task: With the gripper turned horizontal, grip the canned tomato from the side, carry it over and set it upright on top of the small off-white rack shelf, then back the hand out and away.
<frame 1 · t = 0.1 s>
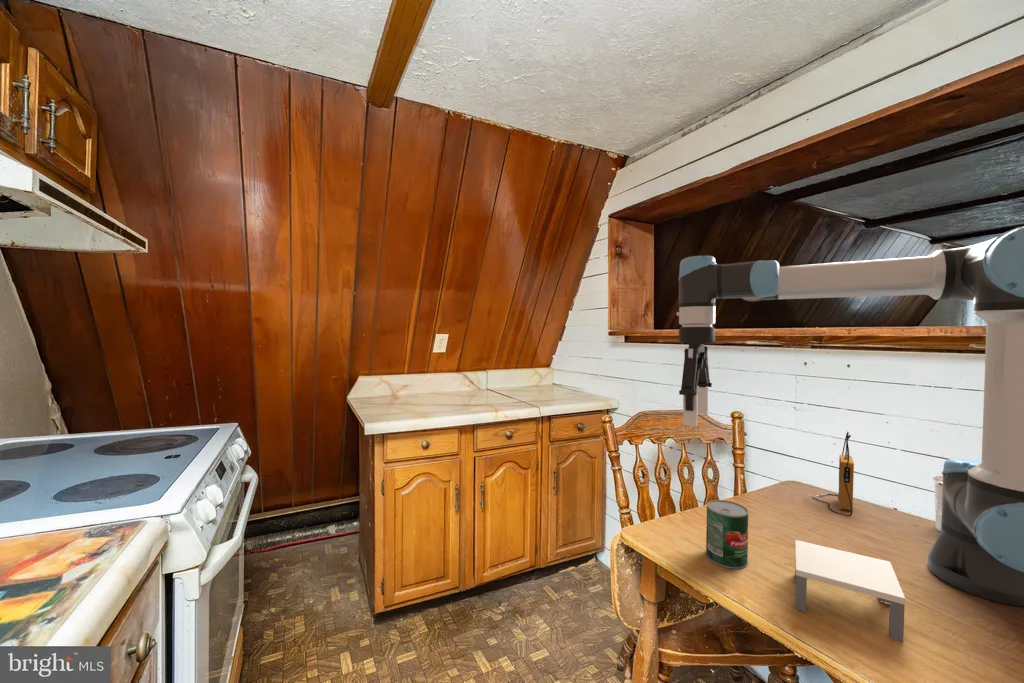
hand: (696, 419, 95), 28 cm above the table, tool pointing down, fingers open, 13 cm apart
canned tomato: (726, 559, 89), on the table
rack shelf: (842, 604, 74), on the table
multimeter: (828, 503, 116), on the table
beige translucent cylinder: (956, 533, 99), on the table
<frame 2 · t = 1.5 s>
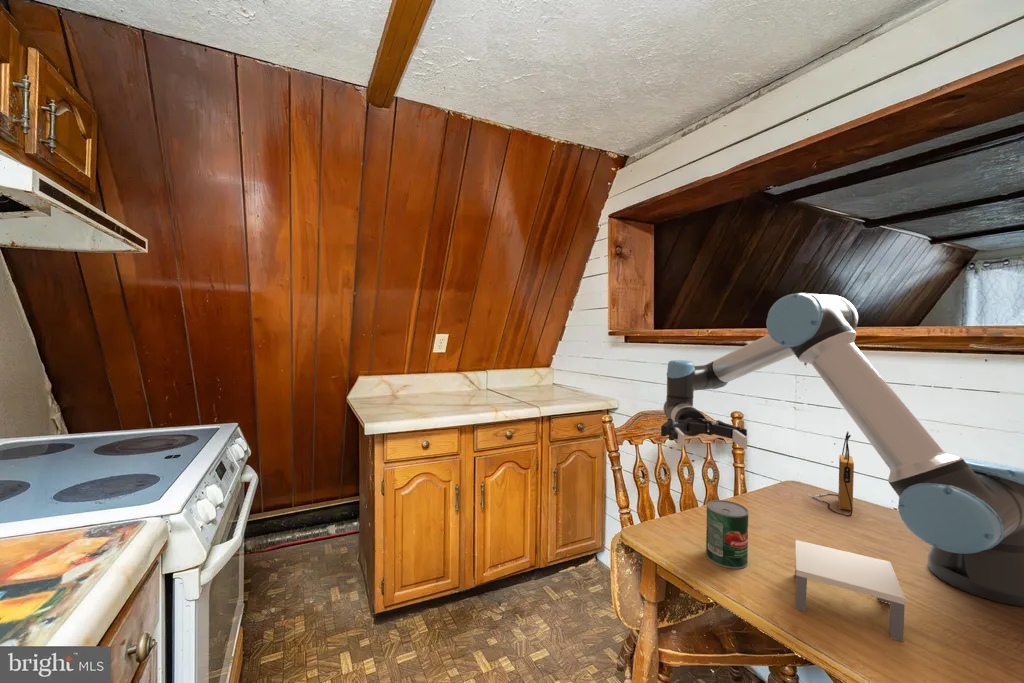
hand: (713, 441, 97), 22 cm above the table, tool horizontal, fingers open, 13 cm apart
nothing on the table moved.
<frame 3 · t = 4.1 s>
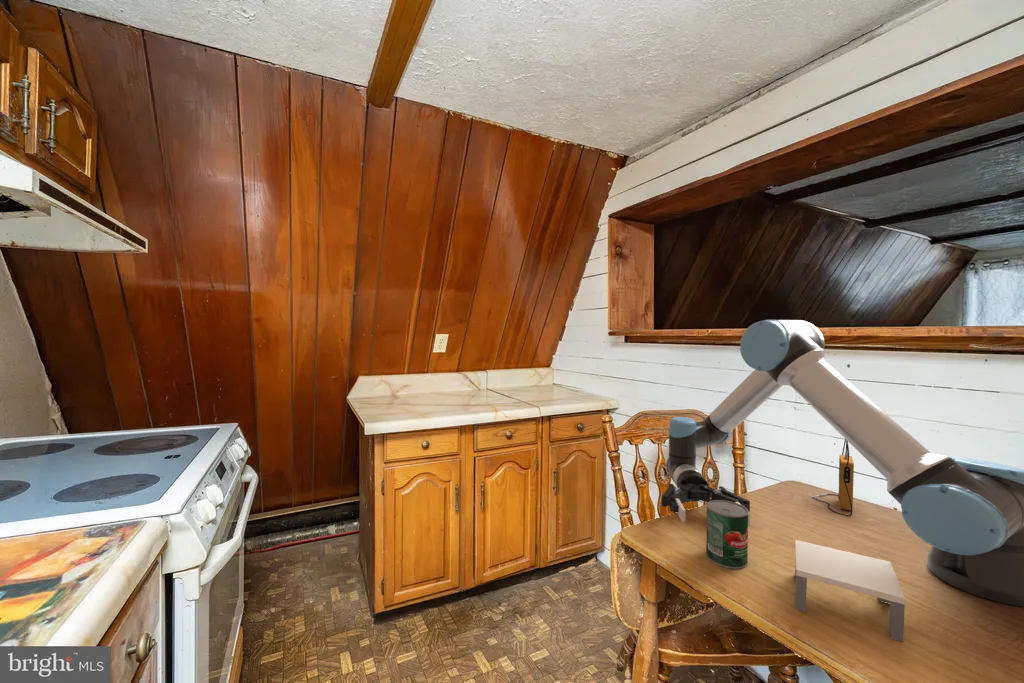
hand: (715, 518, 94), 6 cm above the table, tool horizontal, fingers open, 13 cm apart
nothing on the table moved.
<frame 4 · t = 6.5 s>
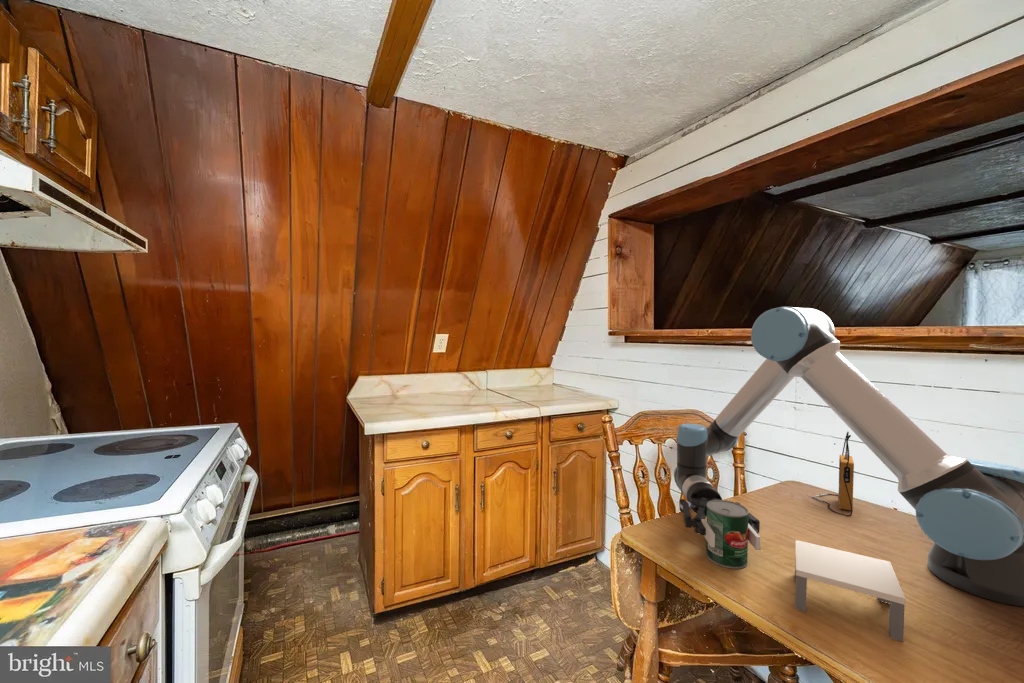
hand: (735, 542, 84), 6 cm above the table, tool horizontal, fingers closed on canned tomato, 8 cm apart
canned tomato: (726, 559, 89), on the table, touching gripper
everything else where it was.
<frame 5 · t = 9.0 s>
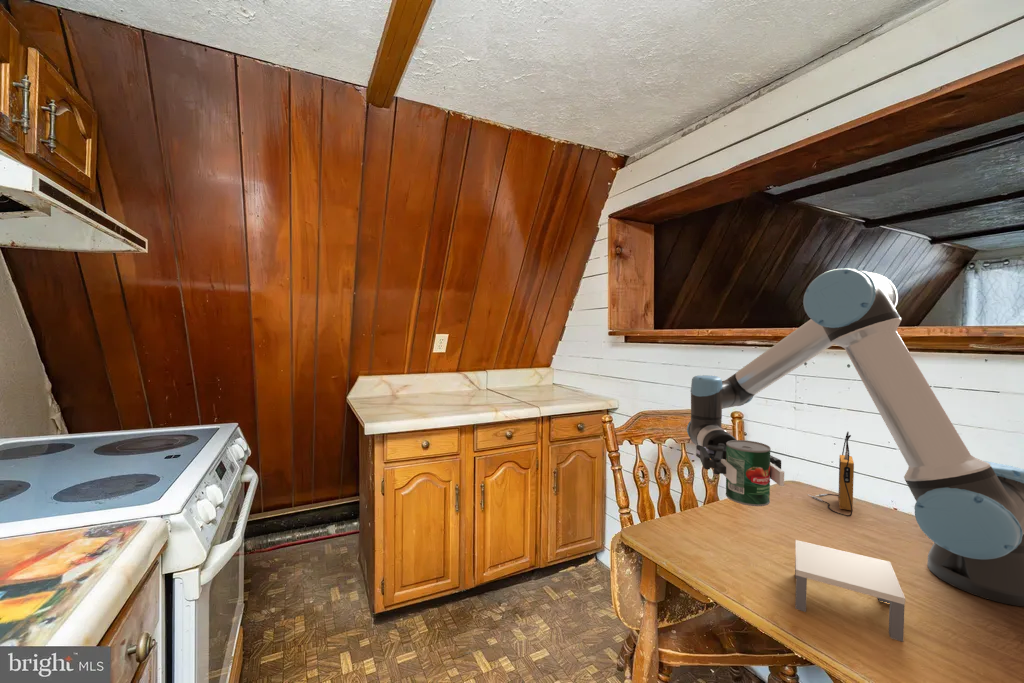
hand: (758, 477, 80), 20 cm above the table, tool horizontal, fingers closed on canned tomato, 8 cm apart
canned tomato: (747, 499, 85), point 14 cm above the table, touching gripper
everything else where it was.
when the fingers open (14 cm above the table, at t = 11.8 s): canned tomato drops 1 cm, resting on rack shelf.
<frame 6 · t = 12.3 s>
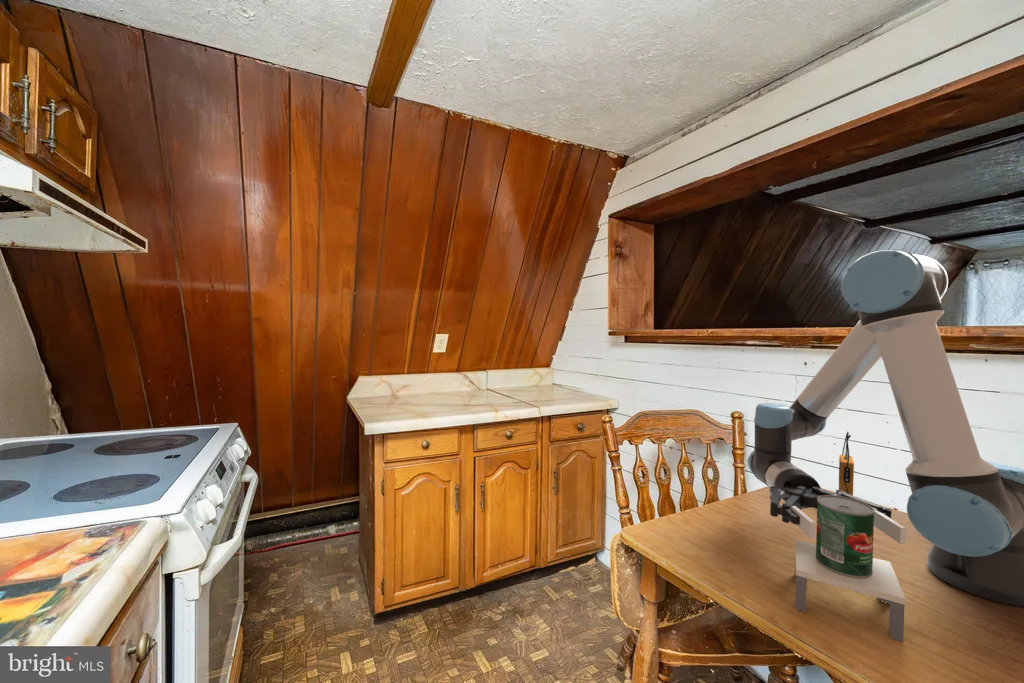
hand: (857, 533, 70), 14 cm above the table, tool horizontal, fingers open, 13 cm apart
canned tomato: (843, 566, 74), point 7 cm above the table, touching rack shelf
everything else where it was.
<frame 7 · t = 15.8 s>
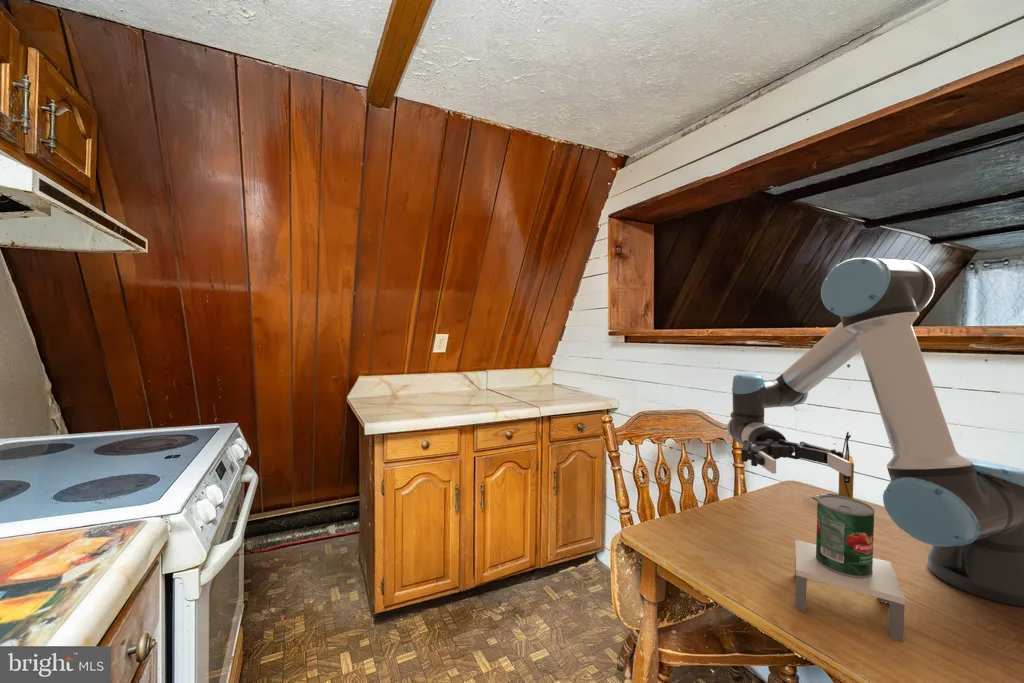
hand: (811, 468, 83), 21 cm above the table, tool horizontal, fingers open, 13 cm apart
nothing on the table moved.
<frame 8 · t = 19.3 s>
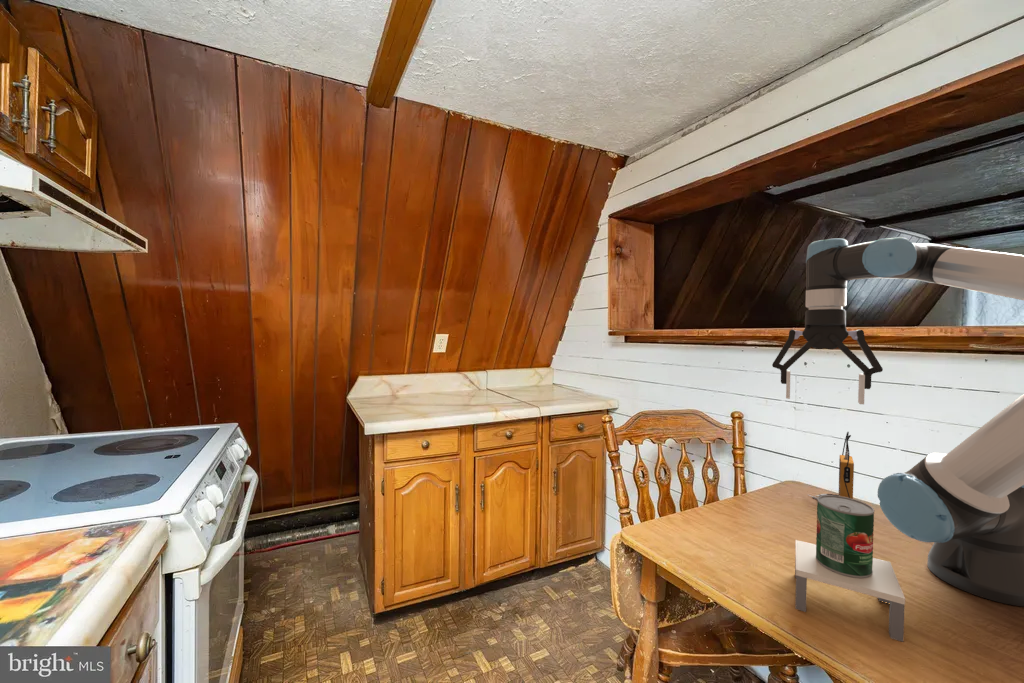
hand: (823, 400, 97), 32 cm above the table, tool pointing down, fingers open, 13 cm apart
nothing on the table moved.
at the end: canned tomato inside the target area on the rack shelf (0.1 cm from its centre), point 6.8 cm above the rack shelf's base; canned tomato tilted 0°; the gripper is holding nothing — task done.
